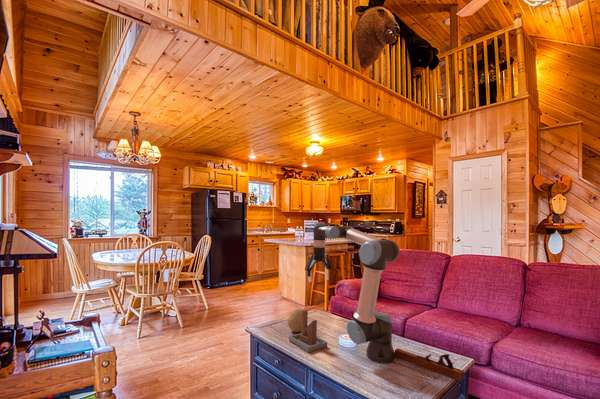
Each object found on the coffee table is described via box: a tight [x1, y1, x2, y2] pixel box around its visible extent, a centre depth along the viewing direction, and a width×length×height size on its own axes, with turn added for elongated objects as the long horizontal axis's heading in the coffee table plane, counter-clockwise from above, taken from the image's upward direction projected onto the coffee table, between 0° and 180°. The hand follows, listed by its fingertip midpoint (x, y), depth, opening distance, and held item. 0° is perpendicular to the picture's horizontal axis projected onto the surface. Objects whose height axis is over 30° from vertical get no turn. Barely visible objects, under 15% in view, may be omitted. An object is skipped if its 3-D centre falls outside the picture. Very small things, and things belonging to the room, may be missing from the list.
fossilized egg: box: [286, 307, 303, 333], centre depth 203 cm, size 13×13×15 cm
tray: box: [288, 331, 328, 354], centre depth 183 cm, size 19×14×3 cm
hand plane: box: [394, 347, 465, 382], centre depth 158 cm, size 34×5×10 cm, turn 47°
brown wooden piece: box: [299, 308, 318, 345], centre depth 184 cm, size 4×11×18 cm, turn 41°
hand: (318, 280), depth 197 cm, fingers open, 13 cm apart
